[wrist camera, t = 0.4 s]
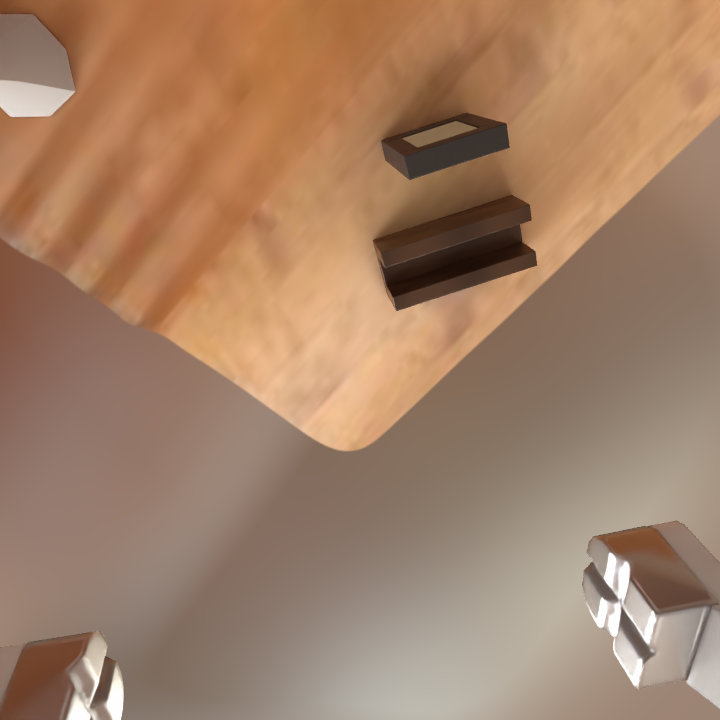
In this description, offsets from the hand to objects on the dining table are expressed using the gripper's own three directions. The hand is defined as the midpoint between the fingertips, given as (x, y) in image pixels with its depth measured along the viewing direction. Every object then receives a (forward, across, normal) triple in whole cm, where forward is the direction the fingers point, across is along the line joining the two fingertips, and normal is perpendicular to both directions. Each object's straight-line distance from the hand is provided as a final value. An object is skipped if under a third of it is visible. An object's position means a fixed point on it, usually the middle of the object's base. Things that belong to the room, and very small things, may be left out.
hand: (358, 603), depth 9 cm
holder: (+46, -15, +10) cm, 49 cm away
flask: (+46, +18, -9) cm, 50 cm away
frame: (+46, -13, -1) cm, 48 cm away
